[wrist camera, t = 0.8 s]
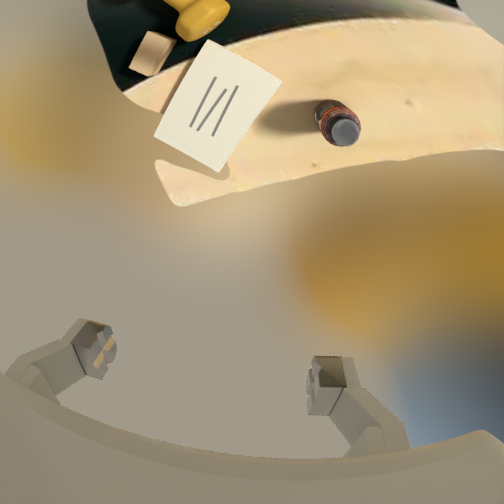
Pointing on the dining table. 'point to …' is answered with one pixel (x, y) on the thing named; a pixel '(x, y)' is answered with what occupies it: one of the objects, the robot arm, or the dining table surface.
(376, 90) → the dining table surface
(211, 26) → the dumbbell
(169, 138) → the board
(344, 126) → the supplement bottle
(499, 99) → the dining table surface
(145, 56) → the block
